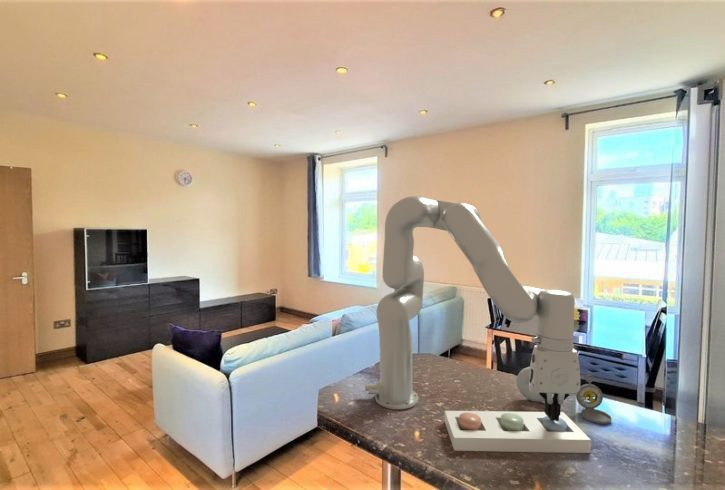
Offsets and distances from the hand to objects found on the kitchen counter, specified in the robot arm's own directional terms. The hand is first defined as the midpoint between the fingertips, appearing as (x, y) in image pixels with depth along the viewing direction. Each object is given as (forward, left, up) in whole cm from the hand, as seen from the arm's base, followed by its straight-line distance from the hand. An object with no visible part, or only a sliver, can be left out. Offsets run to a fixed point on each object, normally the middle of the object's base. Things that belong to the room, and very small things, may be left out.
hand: (552, 417), depth 86 cm
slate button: (0, 0, -3) cm, 3 cm away
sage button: (-10, 0, -2) cm, 10 cm away
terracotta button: (-20, 0, -2) cm, 20 cm away
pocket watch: (+15, +10, -5) cm, 19 cm away
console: (-10, 0, -5) cm, 11 cm away
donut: (+3, +18, -5) cm, 19 cm away
